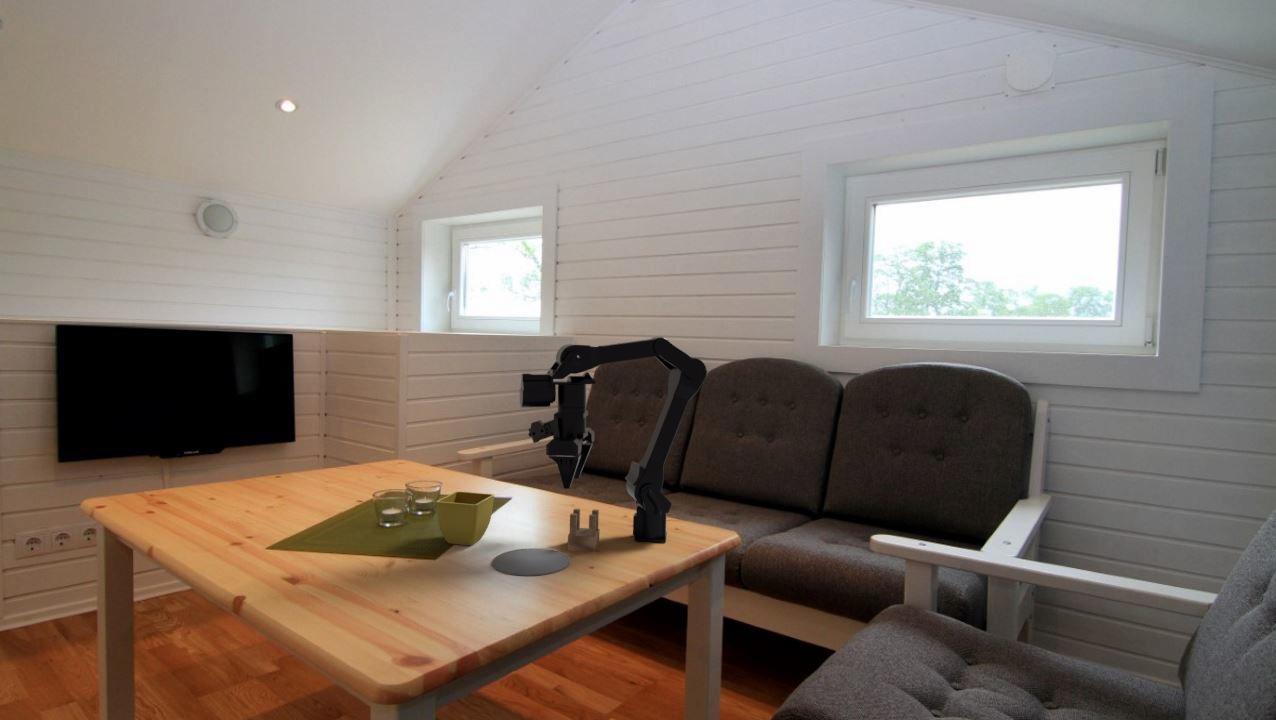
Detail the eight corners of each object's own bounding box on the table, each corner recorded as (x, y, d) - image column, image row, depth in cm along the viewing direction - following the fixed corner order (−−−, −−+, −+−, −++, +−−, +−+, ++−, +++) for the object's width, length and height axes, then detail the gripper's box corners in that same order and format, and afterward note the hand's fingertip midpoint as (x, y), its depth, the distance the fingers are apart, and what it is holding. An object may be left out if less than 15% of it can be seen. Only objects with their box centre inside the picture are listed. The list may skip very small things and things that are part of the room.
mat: (575, 552, 130) (575, 550, 130) (561, 578, 116) (561, 575, 116) (504, 548, 131) (504, 546, 131) (482, 573, 117) (482, 571, 117)
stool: (599, 543, 136) (600, 509, 136) (595, 552, 131) (596, 516, 131) (572, 542, 137) (573, 508, 136) (567, 550, 131) (568, 515, 131)
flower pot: (475, 550, 129) (476, 504, 129) (434, 546, 131) (434, 500, 131) (494, 537, 138) (495, 494, 138) (455, 533, 140) (455, 490, 139)
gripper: (544, 401, 145) (544, 472, 146) (519, 411, 126) (519, 493, 127) (595, 402, 144) (594, 474, 144) (577, 412, 125) (577, 494, 126)
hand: (571, 483), depth 135 cm, fingers open, 9 cm apart
